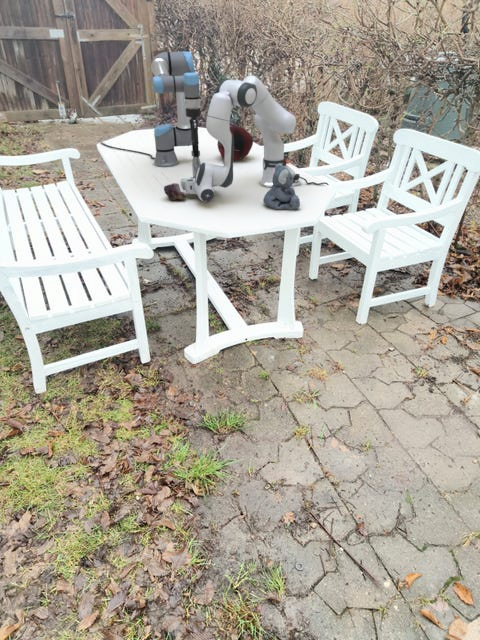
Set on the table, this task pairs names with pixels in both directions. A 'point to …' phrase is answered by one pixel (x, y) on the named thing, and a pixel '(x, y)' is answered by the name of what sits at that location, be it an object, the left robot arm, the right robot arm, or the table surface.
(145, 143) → the table surface
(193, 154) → the cap
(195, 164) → the bottle
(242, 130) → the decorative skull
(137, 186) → the table surface
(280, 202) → the koala plush
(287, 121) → the right robot arm
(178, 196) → the rock
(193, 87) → the left robot arm
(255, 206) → the table surface
